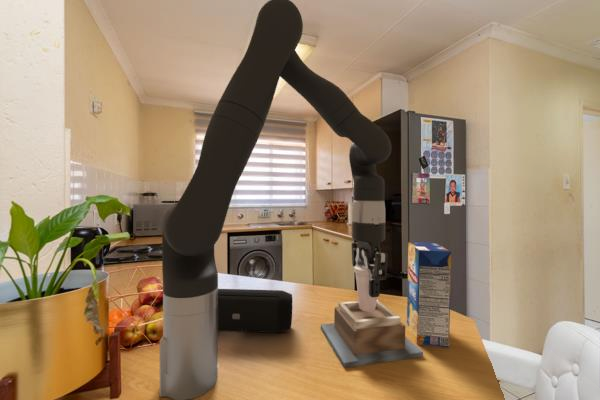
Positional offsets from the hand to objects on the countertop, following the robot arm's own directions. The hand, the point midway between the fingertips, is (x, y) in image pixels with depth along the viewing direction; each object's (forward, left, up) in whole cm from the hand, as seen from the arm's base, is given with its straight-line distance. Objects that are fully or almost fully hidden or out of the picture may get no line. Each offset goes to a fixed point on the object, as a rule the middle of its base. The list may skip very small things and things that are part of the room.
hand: (367, 290), depth 63 cm
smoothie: (0, 0, -4) cm, 4 cm away
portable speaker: (-29, +12, -12) cm, 34 cm away
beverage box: (+16, 0, -12) cm, 20 cm away
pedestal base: (0, 0, -12) cm, 12 cm away
